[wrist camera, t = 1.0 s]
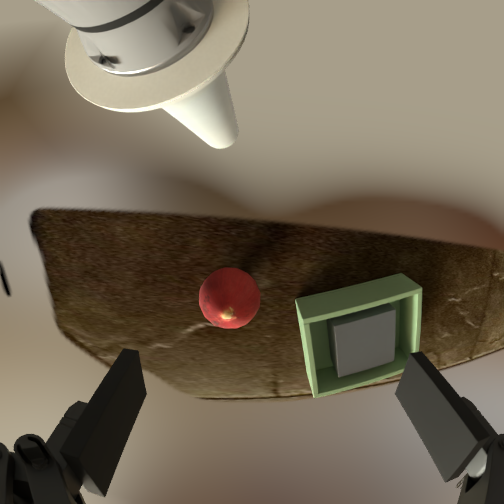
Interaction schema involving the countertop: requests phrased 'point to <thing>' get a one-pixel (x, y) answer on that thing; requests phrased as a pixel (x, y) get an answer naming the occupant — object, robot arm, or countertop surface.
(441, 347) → the countertop surface
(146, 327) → the countertop surface
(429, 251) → the countertop surface
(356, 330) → the block
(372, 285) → the crate
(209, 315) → the onion
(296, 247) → the countertop surface
